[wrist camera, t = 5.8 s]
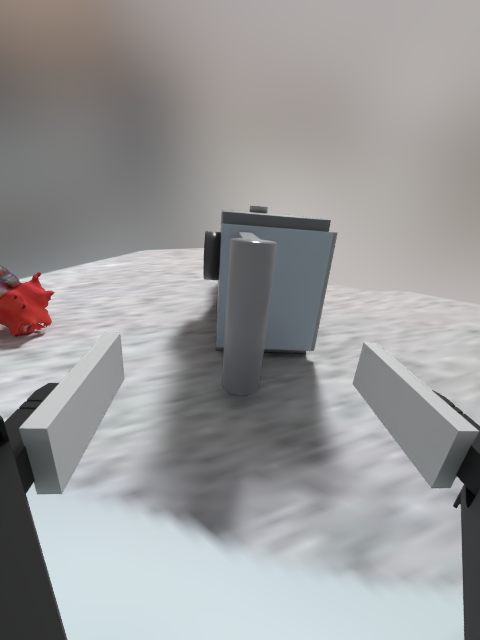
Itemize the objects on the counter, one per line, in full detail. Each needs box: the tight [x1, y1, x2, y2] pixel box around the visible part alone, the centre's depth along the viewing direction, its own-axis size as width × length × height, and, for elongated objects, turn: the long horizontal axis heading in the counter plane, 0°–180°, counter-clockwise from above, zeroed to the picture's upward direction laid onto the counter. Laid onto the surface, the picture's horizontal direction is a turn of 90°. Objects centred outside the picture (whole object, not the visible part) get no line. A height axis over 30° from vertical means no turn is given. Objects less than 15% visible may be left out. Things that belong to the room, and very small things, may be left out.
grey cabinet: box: [204, 206, 330, 353], centre depth 36 cm, size 12×18×15 cm, turn 4°
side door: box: [216, 224, 337, 396], centre depth 23 cm, size 10×10×12 cm
